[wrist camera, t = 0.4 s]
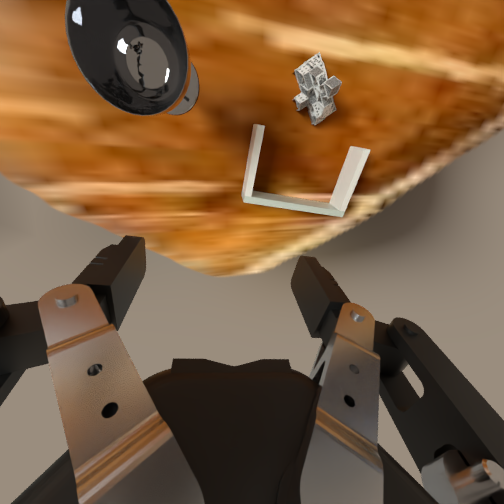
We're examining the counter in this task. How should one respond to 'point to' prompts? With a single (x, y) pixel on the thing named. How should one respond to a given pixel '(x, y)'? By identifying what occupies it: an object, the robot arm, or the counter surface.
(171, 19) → the wine glass
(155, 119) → the counter surface
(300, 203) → the box
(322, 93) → the house of cards
